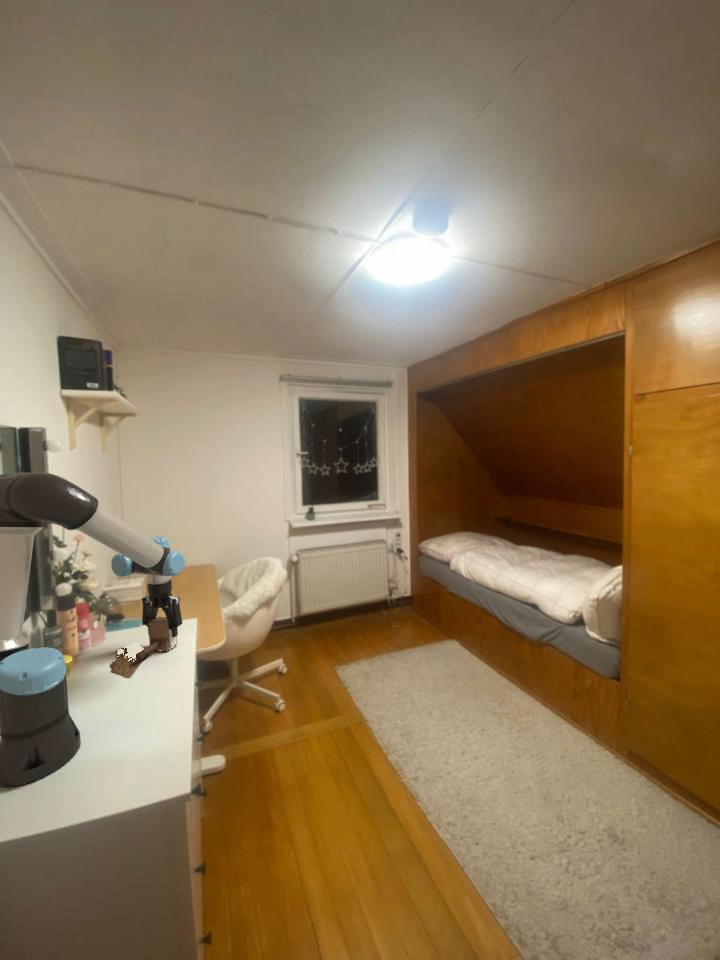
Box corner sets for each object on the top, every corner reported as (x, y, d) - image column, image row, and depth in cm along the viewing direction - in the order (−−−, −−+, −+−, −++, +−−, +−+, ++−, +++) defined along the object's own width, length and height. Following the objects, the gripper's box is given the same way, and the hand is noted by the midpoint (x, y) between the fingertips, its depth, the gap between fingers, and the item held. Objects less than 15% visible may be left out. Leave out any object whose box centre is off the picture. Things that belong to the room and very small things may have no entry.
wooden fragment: (117, 647, 139) (117, 644, 139) (152, 640, 143) (152, 638, 143) (103, 685, 115) (102, 681, 115) (144, 675, 119) (144, 672, 119)
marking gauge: (148, 665, 124) (146, 635, 124) (129, 664, 126) (127, 634, 125) (177, 645, 138) (175, 617, 137) (160, 643, 139) (158, 616, 139)
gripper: (191, 578, 136) (195, 641, 138) (143, 576, 141) (147, 638, 142) (177, 585, 129) (181, 652, 130) (126, 583, 133) (131, 648, 134)
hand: (163, 644), depth 136 cm, fingers closed on marking gauge, 7 cm apart
